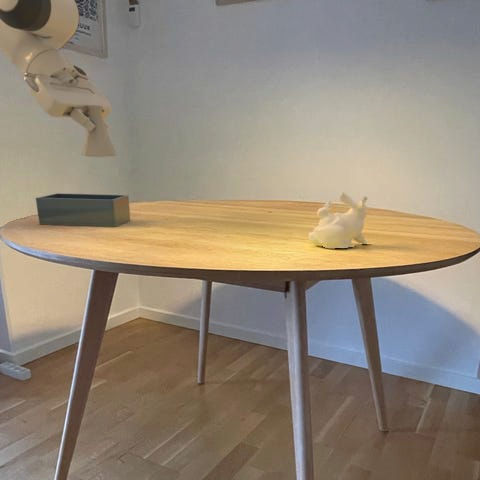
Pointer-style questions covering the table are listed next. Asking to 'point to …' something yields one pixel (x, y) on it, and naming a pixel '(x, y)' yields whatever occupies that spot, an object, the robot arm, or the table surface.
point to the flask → (97, 136)
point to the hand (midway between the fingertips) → (99, 129)
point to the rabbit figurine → (340, 225)
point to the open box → (83, 209)
